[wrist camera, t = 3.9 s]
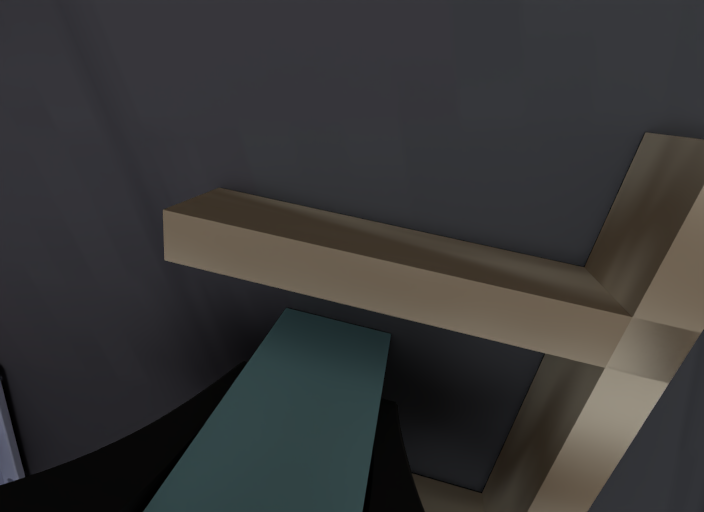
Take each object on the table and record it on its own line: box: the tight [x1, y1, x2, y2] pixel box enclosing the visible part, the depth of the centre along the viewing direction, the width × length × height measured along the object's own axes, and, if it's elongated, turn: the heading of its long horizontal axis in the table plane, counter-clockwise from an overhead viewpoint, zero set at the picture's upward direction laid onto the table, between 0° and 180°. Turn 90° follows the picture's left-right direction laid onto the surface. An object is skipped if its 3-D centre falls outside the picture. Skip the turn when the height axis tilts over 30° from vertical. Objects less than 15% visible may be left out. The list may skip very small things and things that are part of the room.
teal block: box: [143, 308, 391, 512], centre depth 11 cm, size 4×4×8 cm
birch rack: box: [163, 132, 704, 512], centre depth 13 cm, size 20×14×3 cm
